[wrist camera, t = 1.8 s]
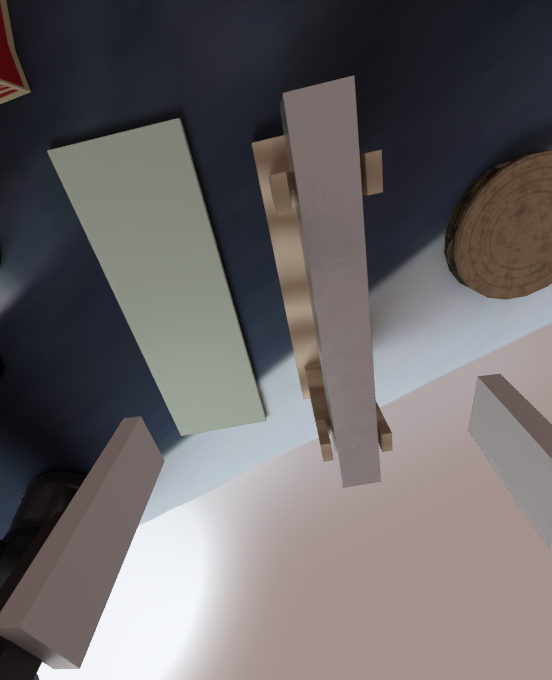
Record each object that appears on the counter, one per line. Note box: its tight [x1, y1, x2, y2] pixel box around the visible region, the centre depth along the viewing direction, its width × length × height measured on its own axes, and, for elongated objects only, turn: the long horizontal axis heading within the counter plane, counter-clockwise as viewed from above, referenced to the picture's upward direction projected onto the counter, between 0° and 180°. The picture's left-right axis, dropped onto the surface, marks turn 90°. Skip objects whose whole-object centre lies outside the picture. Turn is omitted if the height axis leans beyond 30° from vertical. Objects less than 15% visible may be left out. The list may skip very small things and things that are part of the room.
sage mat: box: [47, 118, 266, 436], centre depth 40 cm, size 40×14×1 cm, turn 11°
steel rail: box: [280, 76, 381, 488], centre depth 26 cm, size 34×4×4 cm, turn 11°
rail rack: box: [252, 135, 392, 462], centre depth 32 cm, size 33×9×16 cm, turn 12°
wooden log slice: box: [444, 150, 552, 299], centre depth 36 cm, size 16×16×3 cm
